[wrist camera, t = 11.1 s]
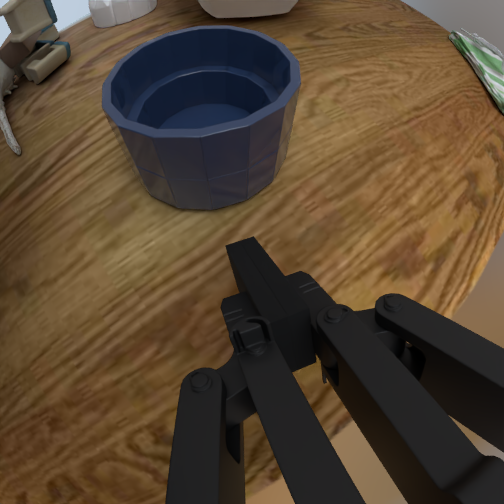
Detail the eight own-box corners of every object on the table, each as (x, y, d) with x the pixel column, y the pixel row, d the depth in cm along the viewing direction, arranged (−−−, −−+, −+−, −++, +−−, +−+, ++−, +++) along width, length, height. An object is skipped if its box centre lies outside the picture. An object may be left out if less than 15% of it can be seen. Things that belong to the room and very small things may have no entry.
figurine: (508, 49, 25) (462, 18, 31) (499, 70, 29) (455, 38, 35) (519, 56, 26) (476, 26, 32) (509, 76, 31) (468, 44, 36)
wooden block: (10, 70, 23) (23, 46, 25) (31, 52, 22) (43, 30, 25) (-5, 54, 19) (10, 31, 21) (16, 34, 19) (30, 14, 21)
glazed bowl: (191, 247, 20) (164, 180, 12) (112, 147, 22) (78, 79, 15) (315, 155, 23) (340, 78, 15) (221, 82, 25) (218, 13, 18)
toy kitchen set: (-27, 18, 15) (26, -21, 18) (5, 75, 29) (49, 36, 32) (3, 5, 12) (78, -40, 16) (45, 88, 26) (103, 40, 29)
